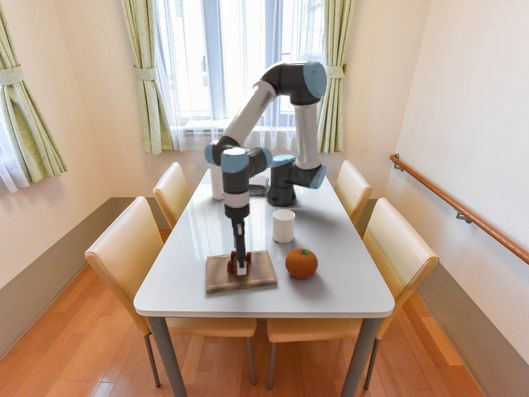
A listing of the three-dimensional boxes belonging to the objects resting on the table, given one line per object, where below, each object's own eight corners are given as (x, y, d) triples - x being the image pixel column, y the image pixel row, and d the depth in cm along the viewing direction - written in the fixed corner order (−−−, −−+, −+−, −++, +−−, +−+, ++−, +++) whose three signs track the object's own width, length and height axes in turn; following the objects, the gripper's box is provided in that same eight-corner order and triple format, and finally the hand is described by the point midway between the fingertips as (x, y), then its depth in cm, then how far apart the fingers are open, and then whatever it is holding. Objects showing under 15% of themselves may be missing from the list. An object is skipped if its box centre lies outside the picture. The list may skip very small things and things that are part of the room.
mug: (292, 227, 114) (293, 205, 109) (294, 244, 103) (295, 220, 99) (272, 227, 114) (273, 205, 110) (272, 243, 104) (272, 220, 99)
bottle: (230, 198, 140) (227, 142, 126) (216, 202, 136) (211, 144, 122) (223, 193, 145) (219, 138, 132) (210, 196, 141) (204, 141, 128)
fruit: (294, 287, 83) (295, 267, 79) (279, 267, 91) (280, 248, 88) (323, 278, 87) (325, 258, 83) (306, 259, 95) (307, 240, 92)
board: (267, 253, 98) (267, 249, 97) (277, 284, 84) (277, 280, 83) (207, 260, 95) (207, 256, 94) (206, 293, 80) (206, 289, 80)
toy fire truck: (225, 279, 84) (223, 253, 79) (233, 255, 95) (231, 230, 90) (247, 281, 83) (246, 254, 78) (252, 256, 94) (252, 231, 90)
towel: (266, 198, 141) (266, 184, 137) (232, 196, 142) (232, 183, 139) (269, 186, 154) (269, 174, 151) (238, 185, 156) (237, 173, 153)
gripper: (222, 186, 88) (226, 239, 98) (226, 225, 66) (230, 289, 76) (244, 185, 89) (246, 237, 99) (255, 223, 67) (256, 285, 77)
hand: (239, 259), depth 87 cm, fingers open, 13 cm apart
